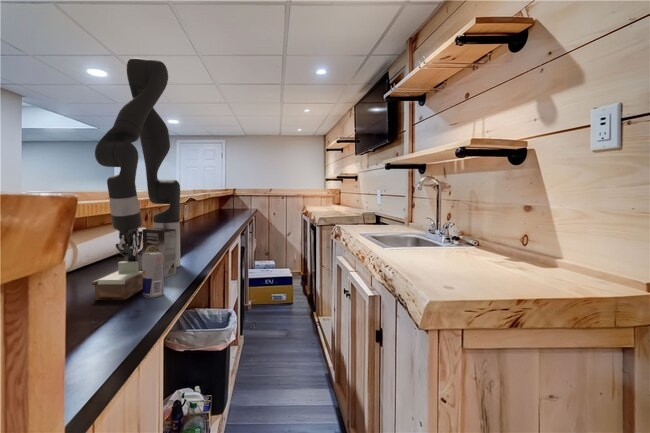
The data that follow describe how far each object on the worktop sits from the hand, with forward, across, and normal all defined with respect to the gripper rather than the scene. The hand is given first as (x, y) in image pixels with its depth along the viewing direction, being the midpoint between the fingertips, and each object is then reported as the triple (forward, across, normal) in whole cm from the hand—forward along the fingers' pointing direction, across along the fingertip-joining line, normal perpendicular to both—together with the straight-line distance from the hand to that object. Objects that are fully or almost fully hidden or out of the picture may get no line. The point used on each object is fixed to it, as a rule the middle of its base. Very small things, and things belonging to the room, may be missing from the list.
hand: (133, 265), depth 110 cm
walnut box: (+5, -8, 0) cm, 9 cm away
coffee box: (+10, +14, -2) cm, 17 cm away
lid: (+1, -8, 0) cm, 8 cm away
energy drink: (+5, -11, -9) cm, 15 cm away
